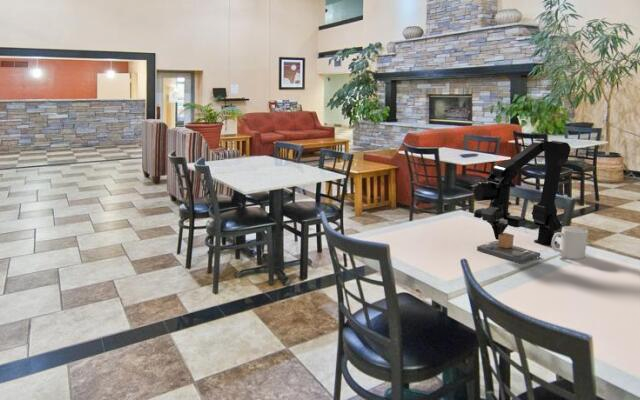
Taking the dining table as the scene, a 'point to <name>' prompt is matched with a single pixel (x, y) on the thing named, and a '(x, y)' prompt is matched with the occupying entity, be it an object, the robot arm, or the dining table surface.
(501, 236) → the orange cube
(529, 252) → the board
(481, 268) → the dining table surface
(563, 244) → the cup
